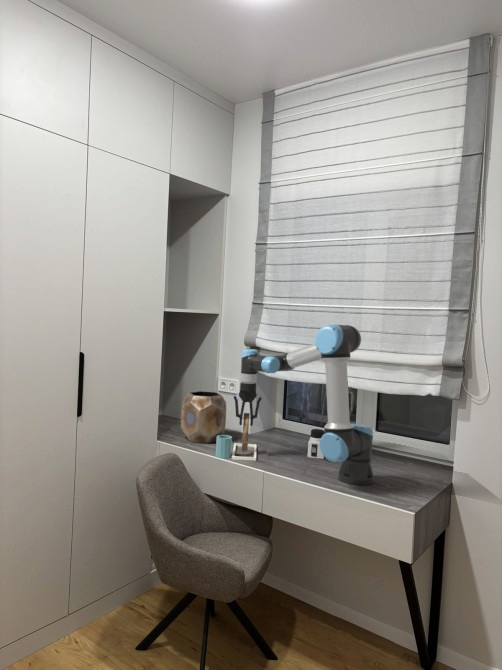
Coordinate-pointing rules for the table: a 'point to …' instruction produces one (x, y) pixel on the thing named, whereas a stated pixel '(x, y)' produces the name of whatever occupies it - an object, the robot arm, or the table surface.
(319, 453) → the container
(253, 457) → the white rectangular frame
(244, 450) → the brown wooden bar
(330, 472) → the table surface
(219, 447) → the cup
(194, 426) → the planter
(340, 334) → the robot arm
